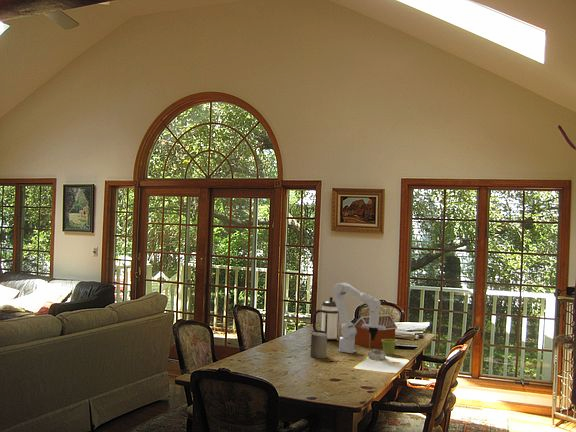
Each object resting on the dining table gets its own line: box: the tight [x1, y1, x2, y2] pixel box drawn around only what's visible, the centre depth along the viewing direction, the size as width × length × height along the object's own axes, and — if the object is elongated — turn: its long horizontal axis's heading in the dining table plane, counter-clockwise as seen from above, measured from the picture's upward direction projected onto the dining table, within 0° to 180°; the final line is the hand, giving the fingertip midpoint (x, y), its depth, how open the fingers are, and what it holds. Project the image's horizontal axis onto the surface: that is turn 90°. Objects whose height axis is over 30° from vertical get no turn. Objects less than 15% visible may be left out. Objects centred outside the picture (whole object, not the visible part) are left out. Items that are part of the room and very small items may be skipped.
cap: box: [371, 348, 383, 354], centre depth 368 cm, size 6×5×4 cm
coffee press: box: [312, 296, 340, 342], centre depth 421 cm, size 17×16×30 cm
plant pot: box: [382, 339, 397, 356], centre depth 381 cm, size 9×9×9 cm
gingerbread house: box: [353, 314, 398, 349], centre depth 411 cm, size 18×26×20 cm
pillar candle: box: [310, 332, 328, 359], centre depth 367 cm, size 10×10×15 cm
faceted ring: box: [367, 350, 386, 361], centre depth 368 cm, size 10×10×4 cm
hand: (373, 340), depth 374 cm, fingers closed
